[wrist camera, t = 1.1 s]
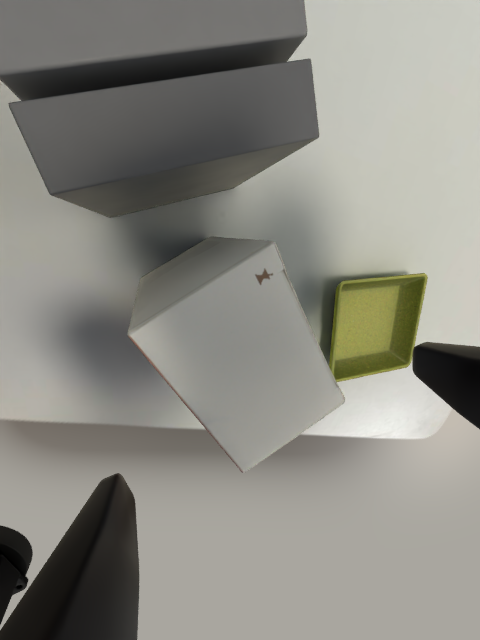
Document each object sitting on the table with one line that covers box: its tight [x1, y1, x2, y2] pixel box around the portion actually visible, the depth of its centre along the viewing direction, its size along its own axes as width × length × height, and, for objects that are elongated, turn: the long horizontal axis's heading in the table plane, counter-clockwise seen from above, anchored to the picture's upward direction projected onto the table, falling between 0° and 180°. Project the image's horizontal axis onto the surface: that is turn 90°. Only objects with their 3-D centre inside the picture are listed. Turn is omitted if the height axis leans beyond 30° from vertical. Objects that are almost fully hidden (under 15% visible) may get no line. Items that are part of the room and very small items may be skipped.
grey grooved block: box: [0, 0, 319, 218], centre depth 11 cm, size 8×4×10 cm, turn 105°
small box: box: [128, 237, 345, 473], centre depth 14 cm, size 8×6×10 cm
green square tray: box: [329, 273, 428, 382], centre depth 23 cm, size 9×9×2 cm
